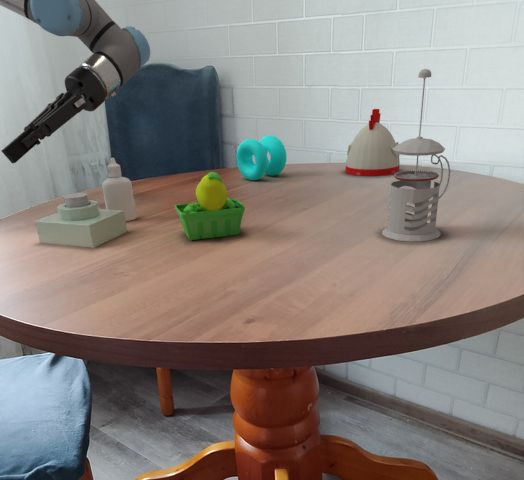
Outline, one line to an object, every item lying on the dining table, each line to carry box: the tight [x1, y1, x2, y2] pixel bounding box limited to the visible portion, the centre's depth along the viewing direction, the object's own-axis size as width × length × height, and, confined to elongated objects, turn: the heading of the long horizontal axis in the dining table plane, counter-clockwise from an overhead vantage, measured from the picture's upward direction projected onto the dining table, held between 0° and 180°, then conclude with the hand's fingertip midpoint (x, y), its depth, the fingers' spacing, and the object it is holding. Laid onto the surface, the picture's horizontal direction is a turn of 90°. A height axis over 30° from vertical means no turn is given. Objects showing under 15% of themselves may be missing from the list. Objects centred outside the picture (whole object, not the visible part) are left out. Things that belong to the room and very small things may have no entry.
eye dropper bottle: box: [101, 157, 138, 222], centre depth 106 cm, size 4×6×12 cm
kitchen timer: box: [344, 108, 401, 177], centre depth 139 cm, size 14×14×15 cm
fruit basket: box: [174, 171, 246, 241], centre depth 94 cm, size 11×9×11 cm
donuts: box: [235, 134, 287, 181], centre depth 139 cm, size 10×10×10 cm
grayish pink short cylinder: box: [63, 192, 90, 208], centre depth 96 cm, size 4×4×2 cm
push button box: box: [34, 199, 128, 249], centre depth 98 cm, size 12×10×6 cm
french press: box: [381, 68, 451, 242], centre depth 87 cm, size 10×12×25 cm
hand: (8, 156), depth 99 cm, fingers closed
